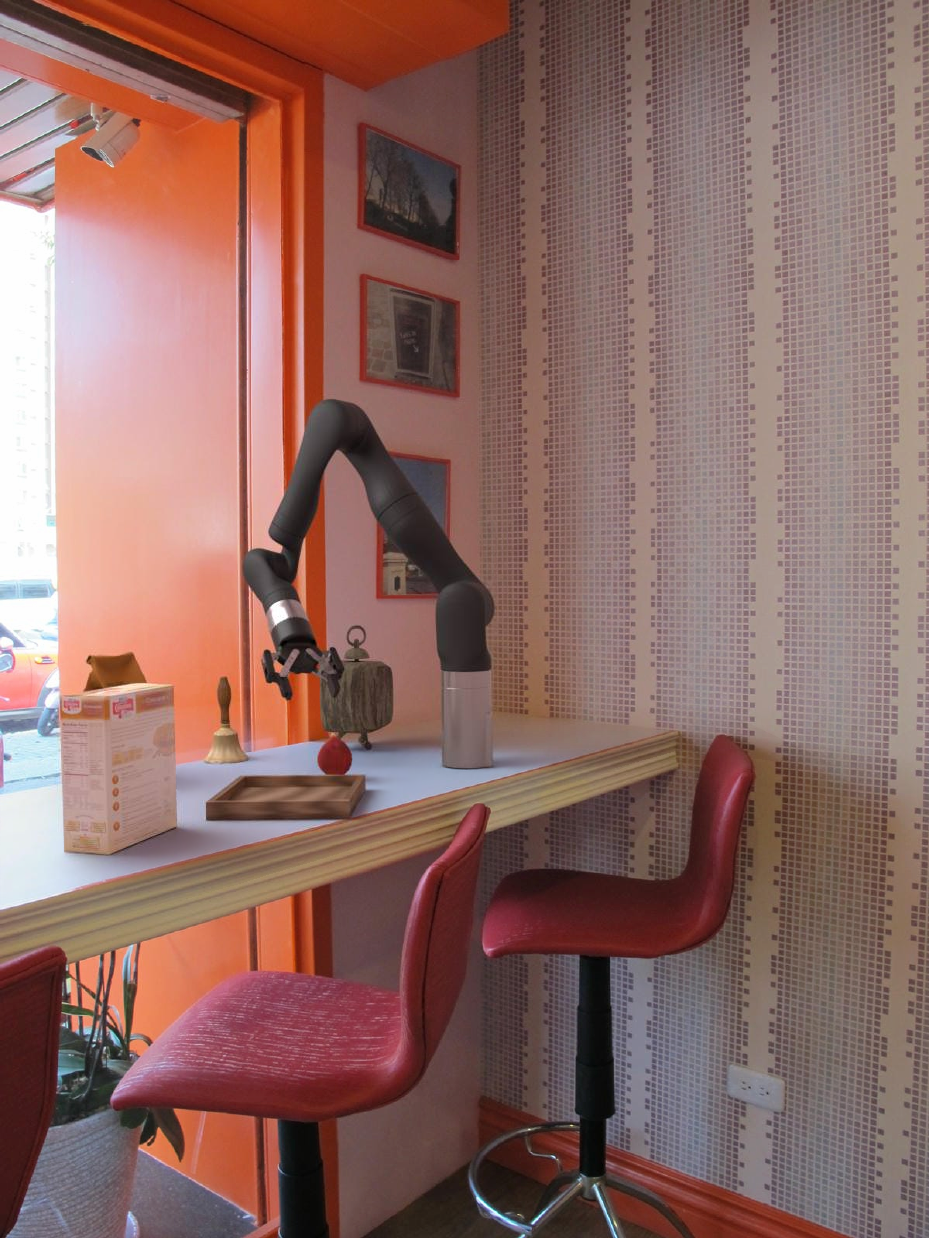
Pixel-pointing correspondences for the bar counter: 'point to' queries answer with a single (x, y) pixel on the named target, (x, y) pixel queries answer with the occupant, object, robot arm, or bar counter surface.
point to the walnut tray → (287, 797)
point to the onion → (334, 757)
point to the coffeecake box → (117, 766)
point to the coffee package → (113, 671)
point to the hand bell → (225, 732)
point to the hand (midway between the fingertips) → (313, 696)
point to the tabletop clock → (358, 695)
